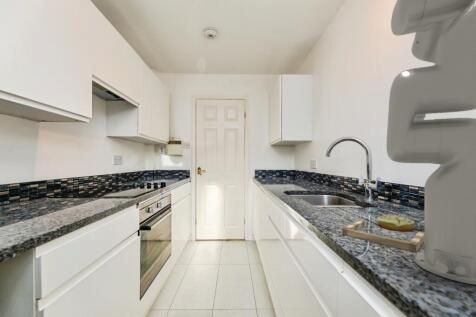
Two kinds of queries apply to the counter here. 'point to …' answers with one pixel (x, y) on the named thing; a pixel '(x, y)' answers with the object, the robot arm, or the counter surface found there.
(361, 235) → the wooden bay
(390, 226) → the yellow-green flat piece
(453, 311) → the counter surface
